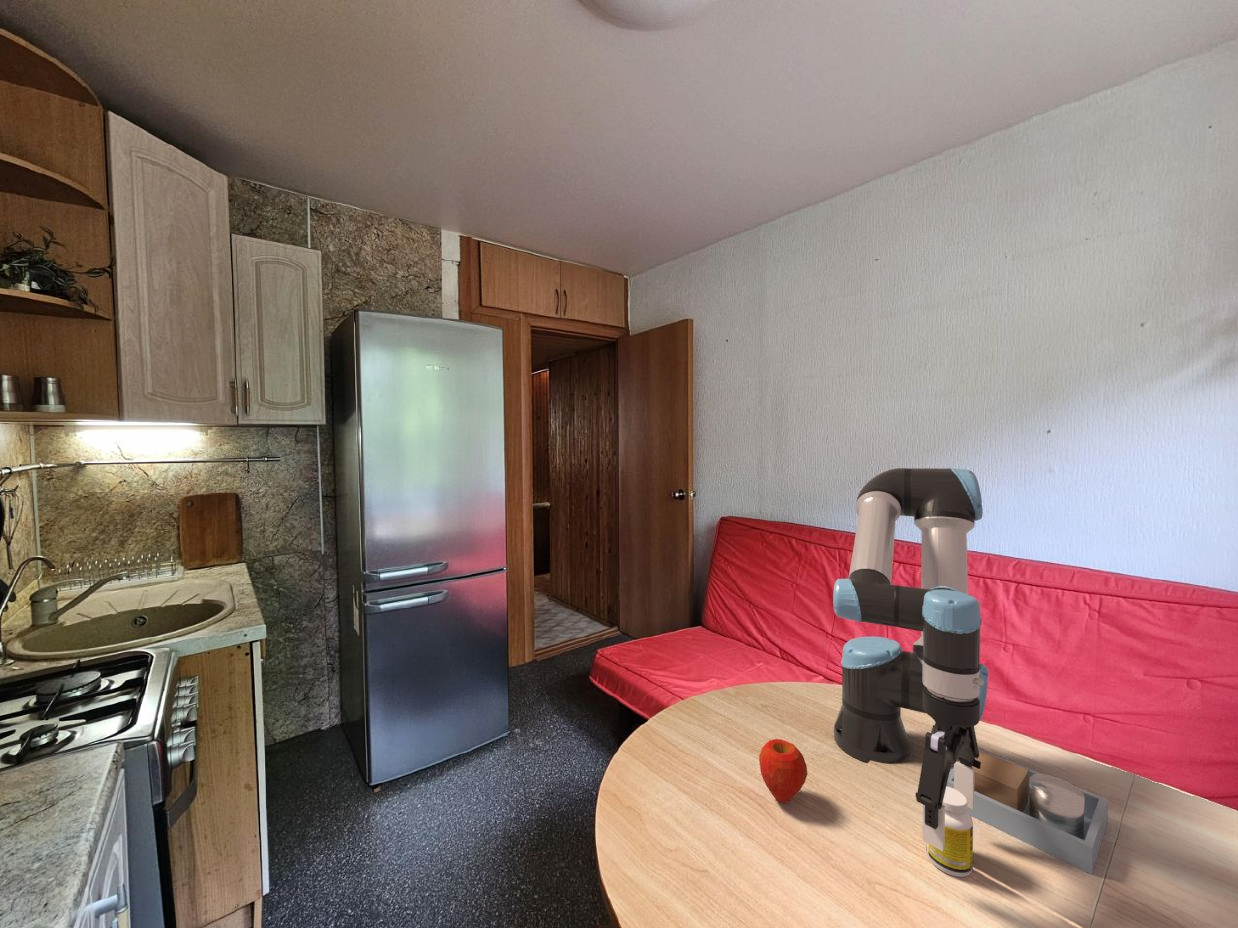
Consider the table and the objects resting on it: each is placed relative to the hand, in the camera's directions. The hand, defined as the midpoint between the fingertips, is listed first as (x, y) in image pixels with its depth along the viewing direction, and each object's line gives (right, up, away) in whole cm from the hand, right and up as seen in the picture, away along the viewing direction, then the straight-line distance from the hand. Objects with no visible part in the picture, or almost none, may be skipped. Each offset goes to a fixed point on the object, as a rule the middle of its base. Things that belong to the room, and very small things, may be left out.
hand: (949, 823), depth 78 cm
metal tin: (+23, -5, +6) cm, 24 cm away
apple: (-22, -7, +15) cm, 27 cm away
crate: (+20, -6, +10) cm, 23 cm away
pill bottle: (0, -7, +1) cm, 7 cm away
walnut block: (+17, -5, +13) cm, 22 cm away
